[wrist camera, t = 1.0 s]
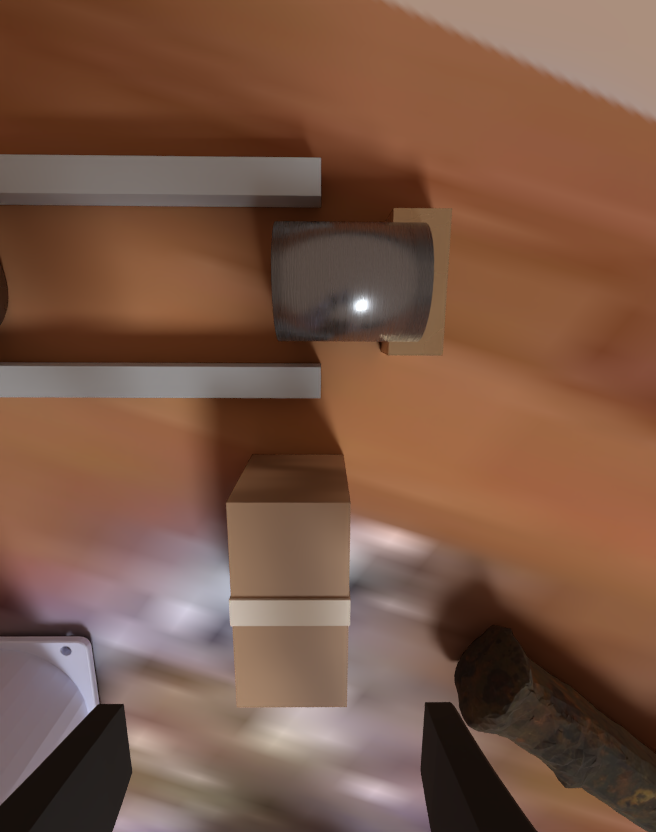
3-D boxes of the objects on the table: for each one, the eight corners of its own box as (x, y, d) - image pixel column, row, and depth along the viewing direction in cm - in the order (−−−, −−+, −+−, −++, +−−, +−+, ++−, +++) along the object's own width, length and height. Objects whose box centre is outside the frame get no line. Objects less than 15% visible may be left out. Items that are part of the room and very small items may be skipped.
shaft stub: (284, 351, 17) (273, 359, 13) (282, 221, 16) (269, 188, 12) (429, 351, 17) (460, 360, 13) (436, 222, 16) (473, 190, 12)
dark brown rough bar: (438, 662, 21) (470, 757, 16) (495, 609, 20) (545, 693, 16) (674, 840, 24) (756, 963, 19) (730, 799, 23) (829, 916, 19)
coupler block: (257, 613, 20) (234, 710, 15) (251, 454, 18) (223, 503, 13) (342, 612, 20) (348, 709, 15) (344, 454, 18) (352, 503, 13)
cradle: (-13, 391, 17) (-44, 397, 16) (-52, 169, 15) (-91, 153, 14) (320, 391, 17) (320, 398, 16) (321, 173, 16) (320, 157, 14)
